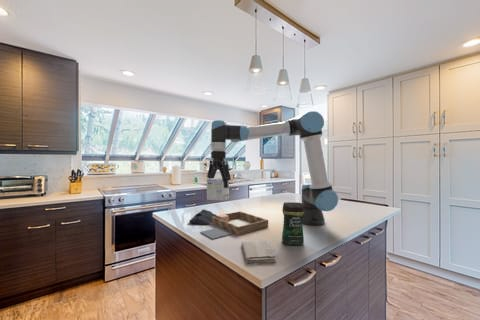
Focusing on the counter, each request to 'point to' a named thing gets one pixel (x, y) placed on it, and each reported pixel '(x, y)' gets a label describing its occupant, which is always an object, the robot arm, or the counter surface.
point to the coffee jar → (293, 223)
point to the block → (223, 217)
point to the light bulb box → (216, 189)
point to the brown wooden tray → (256, 225)
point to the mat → (216, 233)
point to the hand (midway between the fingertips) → (218, 192)
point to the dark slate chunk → (203, 218)
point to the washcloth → (258, 252)
